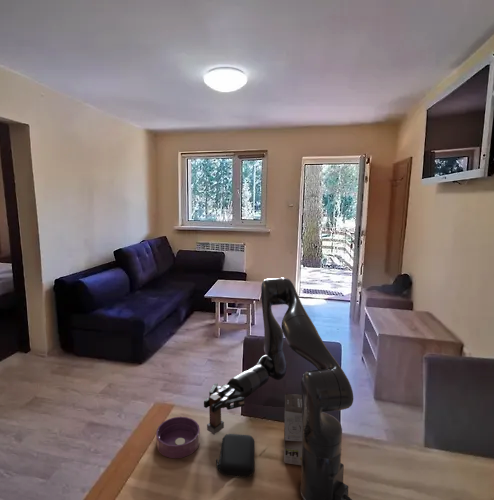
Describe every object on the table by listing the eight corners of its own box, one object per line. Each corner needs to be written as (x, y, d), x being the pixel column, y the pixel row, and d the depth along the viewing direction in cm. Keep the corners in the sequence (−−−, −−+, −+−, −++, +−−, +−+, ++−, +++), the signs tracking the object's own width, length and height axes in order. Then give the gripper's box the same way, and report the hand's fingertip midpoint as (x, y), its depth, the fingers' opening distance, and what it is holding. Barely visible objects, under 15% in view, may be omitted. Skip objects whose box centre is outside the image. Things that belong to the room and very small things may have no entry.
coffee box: (307, 466, 93) (308, 413, 91) (283, 463, 95) (284, 411, 92) (305, 443, 102) (307, 394, 100) (284, 440, 103) (285, 392, 101)
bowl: (208, 443, 103) (208, 429, 102) (175, 467, 94) (174, 453, 93) (181, 423, 112) (181, 411, 111) (148, 444, 102) (147, 431, 102)
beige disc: (187, 443, 102) (187, 441, 102) (179, 448, 100) (179, 446, 100) (180, 438, 104) (180, 436, 104) (173, 443, 102) (173, 441, 102)
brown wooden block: (216, 423, 109) (216, 392, 108) (223, 427, 107) (223, 395, 105) (207, 430, 106) (206, 397, 104) (214, 434, 104) (213, 402, 102)
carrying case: (220, 439, 104) (213, 478, 90) (219, 430, 104) (213, 468, 89) (254, 441, 103) (253, 481, 89) (254, 432, 103) (253, 471, 88)
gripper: (229, 367, 120) (192, 387, 107) (260, 381, 110) (224, 405, 98) (229, 386, 121) (193, 408, 108) (260, 402, 111) (224, 428, 99)
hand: (208, 406), depth 103 cm, fingers closed on brown wooden block, 2 cm apart
